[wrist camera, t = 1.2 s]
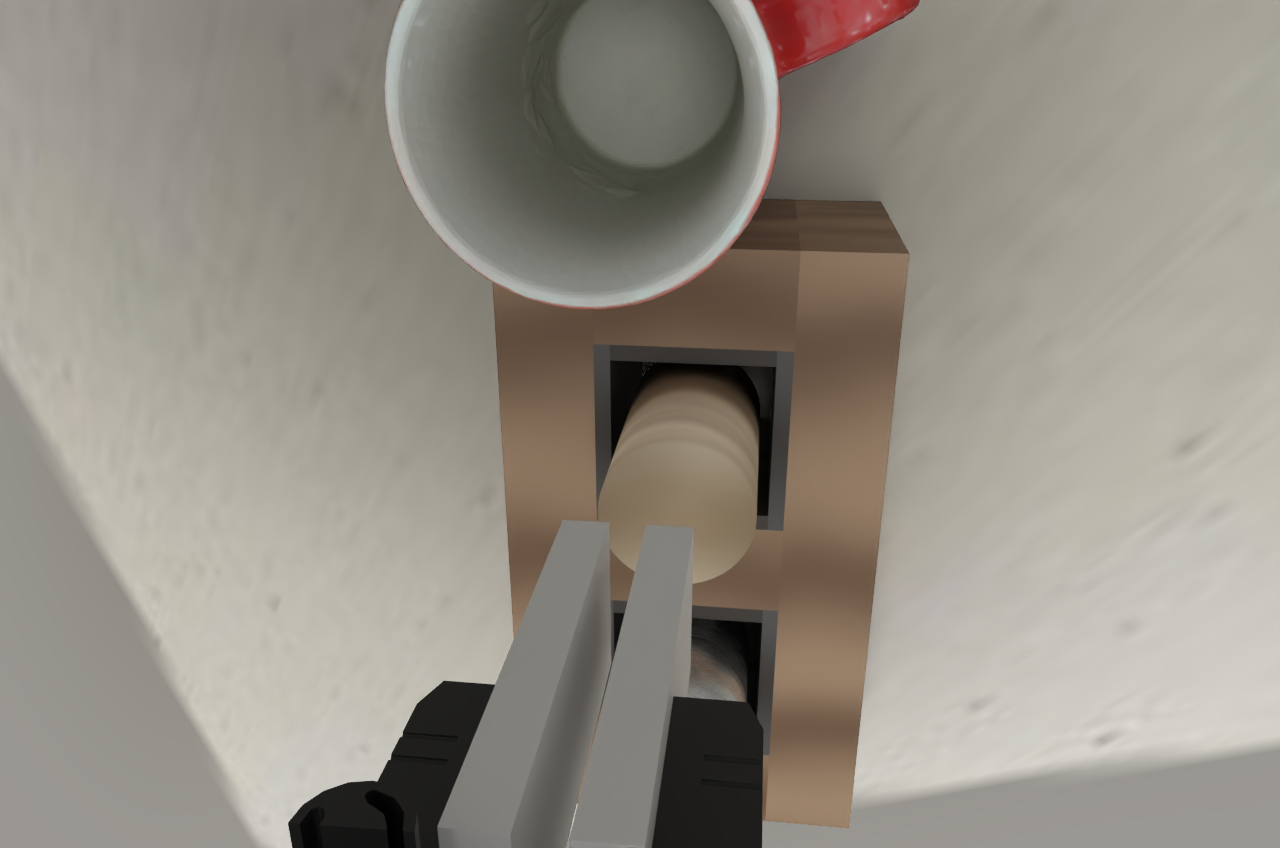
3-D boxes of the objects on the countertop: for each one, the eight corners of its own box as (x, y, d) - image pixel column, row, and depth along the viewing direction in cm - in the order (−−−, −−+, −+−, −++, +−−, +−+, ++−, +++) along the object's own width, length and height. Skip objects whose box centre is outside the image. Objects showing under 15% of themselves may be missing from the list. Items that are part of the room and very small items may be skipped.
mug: (575, 240, 37) (475, 357, 25) (480, -10, 34) (313, -17, 22) (914, 124, 34) (994, 192, 22) (841, -161, 31) (887, -269, 19)
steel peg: (634, 584, 36) (602, 720, 29) (751, 592, 36) (745, 732, 29) (634, 679, 38) (604, 830, 31) (746, 688, 37) (740, 842, 30)
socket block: (546, 194, 37) (490, 242, 29) (881, 201, 35) (909, 253, 28) (564, 668, 45) (523, 798, 37) (836, 689, 43) (849, 828, 36)
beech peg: (633, 347, 33) (596, 439, 26) (763, 352, 32) (760, 447, 25) (634, 463, 34) (599, 579, 27) (757, 470, 34) (753, 589, 27)
